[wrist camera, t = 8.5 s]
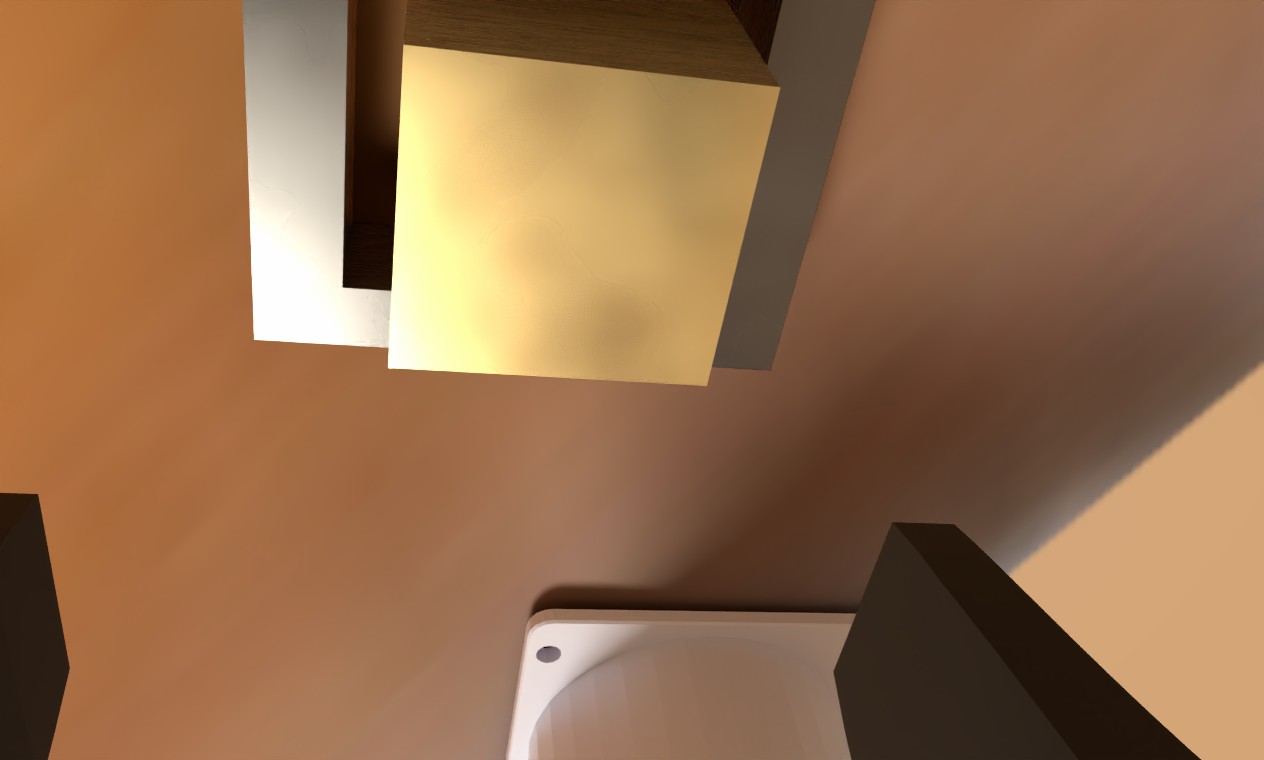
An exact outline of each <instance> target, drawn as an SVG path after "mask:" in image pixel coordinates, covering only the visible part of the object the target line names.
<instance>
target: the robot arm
mask: <svg viewBox="0 0 1264 760" xmlns="http://www.w3.org/2000/svg"><path fill="white" fill-rule="evenodd" d="M546 646H554V647H551V648H543V647H546ZM69 669H70V667H69V661H68V656H67V650H66V645H65V640H64V634H63V629H62V623H61V618H60V612H59V607H58V601H57V596H56V590H55V585H54V579H53V574H52V568H51V563H50V557H49V552H48V546H47V541H46V535H45V530H44V524H43V519H42V513H41V508H40V503H39V497H38V494H18V493H0V760H48V756H49V752H50V749H51V745H52V741H53V737H54V733H55V729H56V724H57V720H58V716H59V712H60V707H61V703H62V699H63V695H64V690H65V686H66V682H67V678H68V673H69ZM505 760H1201V759H1200V758H1199V757H1197V756H1196V755H1195V754H1194V753H1193V752H1192V751H1191V750H1190V749H1188V748H1187V747H1186V746H1185V745H1184V744H1183V743H1182V742H1181V741H1180V740H1179V739H1178V738H1176V737H1175V736H1174V735H1173V734H1172V733H1171V732H1170V731H1169V730H1168V729H1167V728H1165V727H1164V726H1163V725H1162V724H1161V723H1160V722H1159V721H1158V720H1157V719H1156V718H1155V717H1153V716H1152V715H1151V714H1150V713H1149V712H1148V711H1147V710H1146V709H1145V708H1144V707H1143V706H1141V704H1139V702H1138V701H1136V700H1135V699H1134V698H1133V697H1132V696H1131V695H1130V694H1129V693H1128V692H1127V691H1126V690H1125V689H1124V688H1123V687H1122V686H1121V685H1120V684H1119V683H1118V682H1116V681H1115V680H1114V679H1113V678H1112V677H1111V676H1110V675H1109V674H1108V673H1107V672H1106V671H1105V670H1104V669H1103V668H1102V667H1101V666H1100V665H1099V664H1098V663H1097V662H1096V661H1095V660H1094V659H1093V658H1092V657H1091V656H1090V655H1088V654H1087V653H1086V652H1085V651H1084V650H1083V649H1082V648H1081V647H1080V646H1079V645H1078V644H1077V643H1076V642H1075V641H1074V640H1073V639H1072V638H1071V637H1070V636H1069V635H1068V634H1067V633H1066V632H1065V631H1064V630H1063V629H1062V628H1061V627H1060V626H1059V625H1058V624H1057V623H1056V622H1055V621H1054V620H1053V619H1052V618H1051V617H1050V616H1049V615H1048V614H1047V613H1046V612H1045V611H1044V610H1043V609H1042V608H1041V607H1040V606H1039V605H1038V604H1037V603H1036V602H1035V601H1034V600H1033V599H1032V598H1031V597H1030V596H1029V595H1027V594H1026V593H1025V592H1024V591H1023V590H1022V589H1021V588H1020V587H1019V586H1018V585H1017V584H1016V583H1015V582H1014V581H1013V580H1012V579H1011V578H1010V577H1009V576H1008V575H1007V574H1006V573H1005V572H1004V571H1003V570H1002V569H1001V568H1000V567H999V566H998V565H997V564H996V563H995V562H994V561H993V560H992V559H991V558H990V557H989V556H988V555H987V554H986V553H985V552H984V551H982V550H981V549H980V548H979V547H978V546H977V545H976V544H975V543H974V542H973V541H972V540H971V539H970V538H969V537H967V536H966V535H965V534H964V533H963V532H962V531H961V530H960V529H959V528H958V527H956V526H955V525H954V524H927V523H897V522H892V525H891V527H890V530H889V532H888V535H887V537H886V540H885V542H884V545H883V547H882V550H881V552H880V555H879V557H878V560H877V562H876V565H875V567H874V570H873V573H872V575H871V578H870V580H869V583H868V585H867V588H866V590H865V593H864V595H863V598H862V600H861V603H860V605H859V608H858V610H857V613H856V614H853V613H788V612H723V611H658V610H593V609H548V610H543V611H541V612H538V613H536V614H535V615H533V616H532V617H531V618H530V619H529V621H528V623H527V626H526V632H525V639H524V645H523V651H522V658H521V664H520V670H519V677H518V683H517V689H516V696H515V702H514V708H513V715H512V721H511V727H510V734H509V740H508V747H507V753H506V759H505Z"/></svg>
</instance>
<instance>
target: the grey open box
mask: <svg viewBox="0 0 1264 760" xmlns="http://www.w3.org/2000/svg"><path fill="white" fill-rule="evenodd" d="M875 1H876V0H741V1H740V5H739V10H738V15H737V17H736V16H735V14H734V12H733V11H732V9H731V8H730V6H729V4H728V3H727V1H726V0H408V3H407V14H406V24H405V34H404V45H403V66H402V87H401V108H400V129H399V150H398V171H397V193H396V214H395V226H389V225H376V224H364V223H352V206H353V163H354V119H355V76H356V33H357V0H243V27H244V56H245V85H246V114H247V143H248V172H249V200H250V229H251V258H252V287H253V316H254V340H271V341H287V342H304V343H321V344H337V345H354V346H370V347H387V348H389V361H388V368H403V369H421V370H438V371H456V372H473V373H491V374H509V375H526V376H544V377H561V378H579V379H596V380H614V381H632V382H649V383H667V384H684V385H702V386H707V383H708V379H709V375H710V371H711V367H718V368H735V369H752V370H768V371H771V368H772V364H773V361H774V357H775V354H776V350H777V347H778V343H779V340H780V336H781V333H782V329H783V326H784V322H785V318H786V315H787V311H788V308H789V304H790V301H791V297H792V294H793V290H794V287H795V283H796V280H797V276H798V273H799V269H800V266H801V262H802V259H803V255H804V251H805V248H806V244H807V241H808V237H809V234H810V230H811V227H812V223H813V220H814V216H815V213H816V209H817V206H818V202H819V199H820V195H821V192H822V188H823V185H824V181H825V177H826V174H827V170H828V167H829V163H830V160H831V156H832V153H833V149H834V146H835V142H836V139H837V135H838V132H839V128H840V125H841V121H842V118H843V114H844V110H845V107H846V103H847V100H848V96H849V93H850V89H851V86H852V82H853V79H854V75H855V72H856V68H857V65H858V61H859V58H860V54H861V51H862V47H863V44H864V40H865V36H866V33H867V29H868V26H869V22H870V19H871V15H872V12H873V8H874V5H875Z"/></svg>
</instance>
